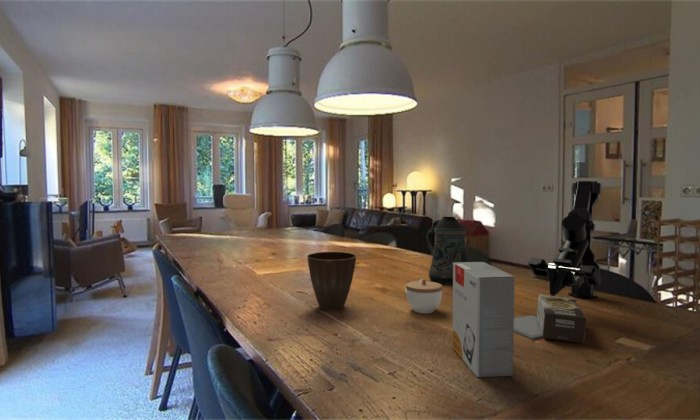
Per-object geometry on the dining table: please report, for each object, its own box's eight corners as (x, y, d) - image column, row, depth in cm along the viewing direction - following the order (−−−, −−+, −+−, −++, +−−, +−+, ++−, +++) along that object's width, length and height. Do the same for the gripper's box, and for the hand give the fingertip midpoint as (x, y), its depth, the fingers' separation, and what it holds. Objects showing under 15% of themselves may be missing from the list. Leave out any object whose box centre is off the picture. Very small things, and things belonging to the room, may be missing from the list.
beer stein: (465, 287, 158) (466, 219, 157) (415, 282, 168) (415, 217, 167) (476, 279, 173) (477, 216, 171) (429, 274, 182) (429, 215, 181)
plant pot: (363, 303, 137) (363, 253, 136) (343, 316, 124) (343, 260, 123) (322, 298, 143) (322, 250, 142) (298, 310, 130) (297, 257, 129)
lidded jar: (419, 303, 137) (420, 274, 137) (449, 310, 129) (449, 279, 129) (398, 310, 130) (398, 279, 129) (428, 318, 122) (428, 285, 121)
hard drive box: (451, 348, 99) (451, 261, 98) (483, 347, 100) (484, 261, 99) (476, 378, 84) (477, 276, 83) (514, 376, 84) (516, 275, 83)
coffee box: (575, 297, 116) (587, 318, 101) (572, 320, 117) (585, 345, 101) (538, 293, 119) (545, 312, 103) (536, 316, 120) (542, 338, 104)
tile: (531, 316, 123) (531, 314, 123) (574, 331, 110) (574, 330, 110) (492, 322, 118) (492, 320, 118) (531, 339, 105) (531, 337, 105)
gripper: (615, 273, 122) (596, 320, 116) (550, 264, 137) (531, 304, 131) (603, 248, 117) (583, 295, 111) (538, 241, 132) (516, 282, 126)
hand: (551, 295), depth 120 cm, fingers closed
